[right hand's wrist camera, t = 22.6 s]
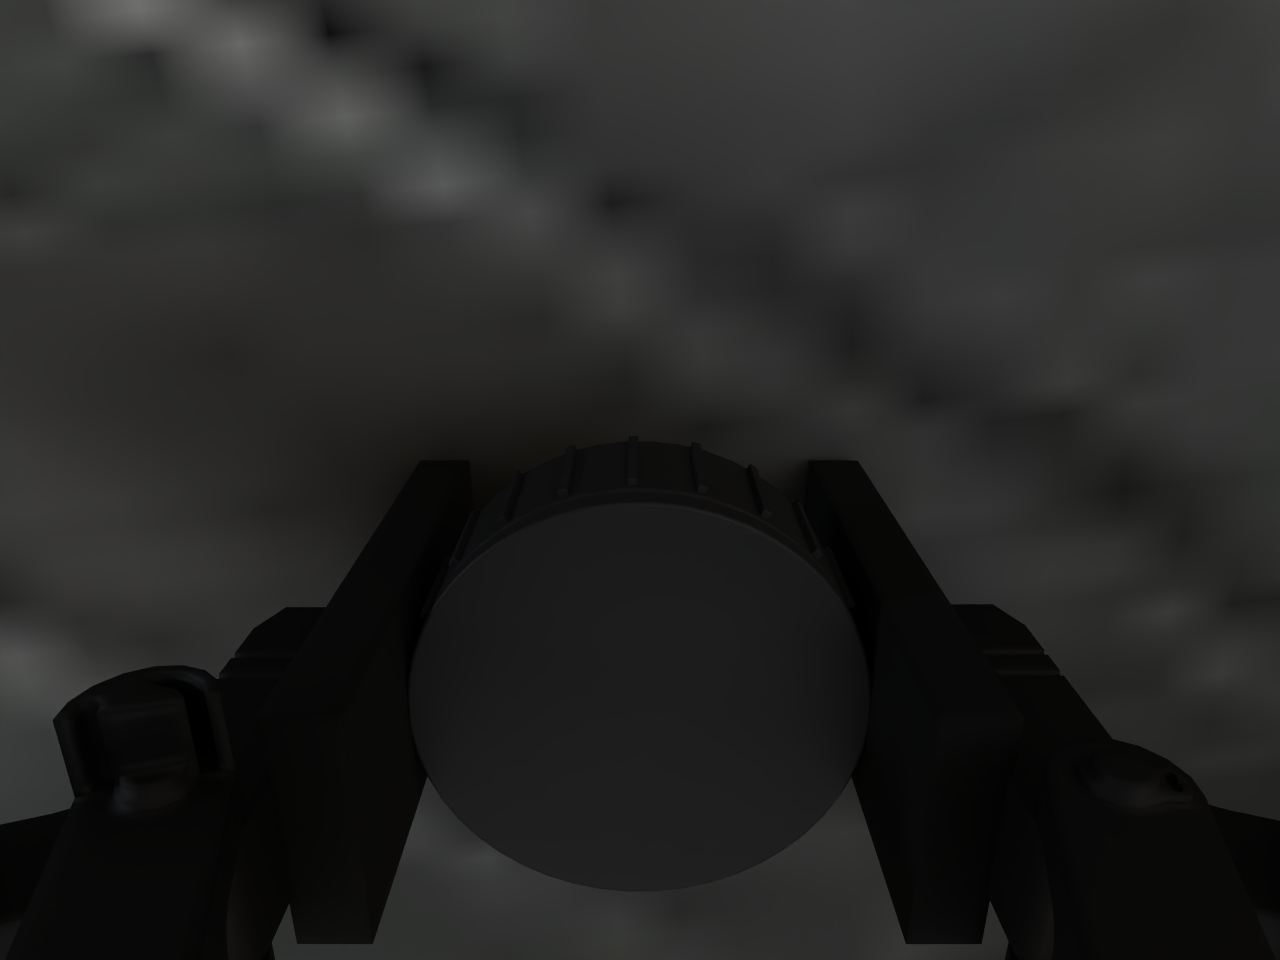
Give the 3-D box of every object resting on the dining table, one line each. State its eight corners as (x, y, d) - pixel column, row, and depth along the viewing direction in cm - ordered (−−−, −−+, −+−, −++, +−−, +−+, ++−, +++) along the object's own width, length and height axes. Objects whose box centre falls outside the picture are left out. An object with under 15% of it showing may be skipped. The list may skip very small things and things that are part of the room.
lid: (697, 349, 11) (709, 397, 9) (914, 671, 13) (962, 768, 11) (352, 577, 12) (299, 661, 10) (593, 844, 14) (586, 959, 12)
